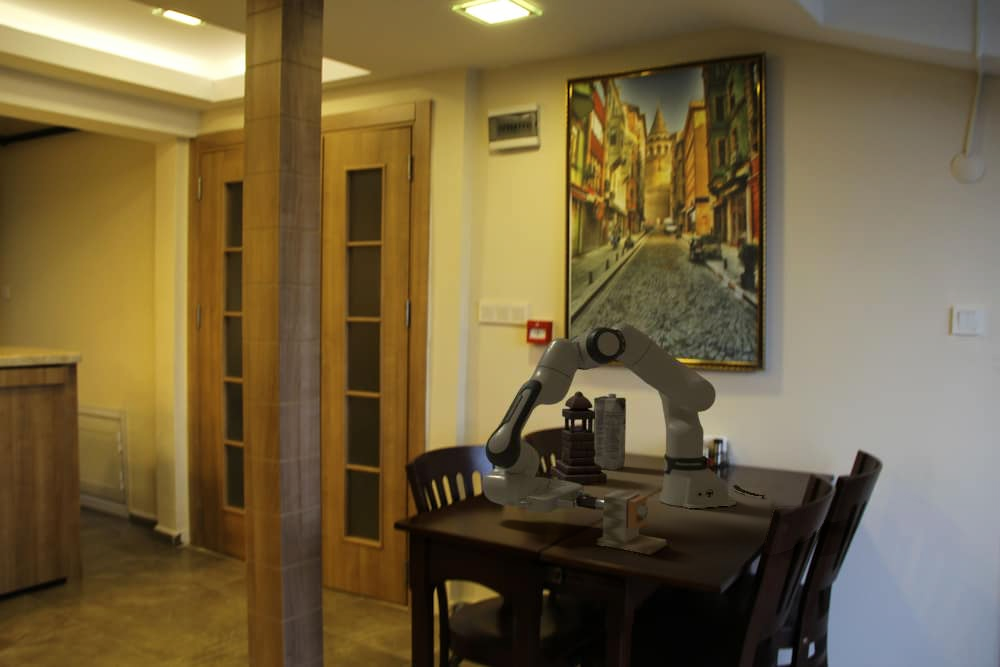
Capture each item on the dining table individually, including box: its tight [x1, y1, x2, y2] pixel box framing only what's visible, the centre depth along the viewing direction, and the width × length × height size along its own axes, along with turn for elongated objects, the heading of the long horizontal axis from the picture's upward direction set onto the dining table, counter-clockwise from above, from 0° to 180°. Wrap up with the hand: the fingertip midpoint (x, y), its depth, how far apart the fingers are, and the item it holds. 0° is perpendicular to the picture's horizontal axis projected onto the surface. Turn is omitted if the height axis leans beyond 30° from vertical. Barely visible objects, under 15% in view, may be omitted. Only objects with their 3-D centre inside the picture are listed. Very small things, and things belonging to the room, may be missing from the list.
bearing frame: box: [597, 489, 667, 554], centre depth 202 cm, size 14×10×12 cm
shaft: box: [575, 495, 649, 519], centre depth 205 cm, size 18×3×3 cm, turn 56°
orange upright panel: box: [628, 495, 647, 531], centre depth 201 cm, size 2×7×7 cm, turn 146°
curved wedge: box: [732, 484, 765, 497], centre depth 259 cm, size 8×14×2 cm, turn 179°
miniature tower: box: [549, 390, 608, 485], centre depth 276 cm, size 16×15×30 cm
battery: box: [593, 393, 627, 471], centre depth 296 cm, size 9×10×27 cm
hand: (582, 501), depth 210 cm, fingers open, 8 cm apart
